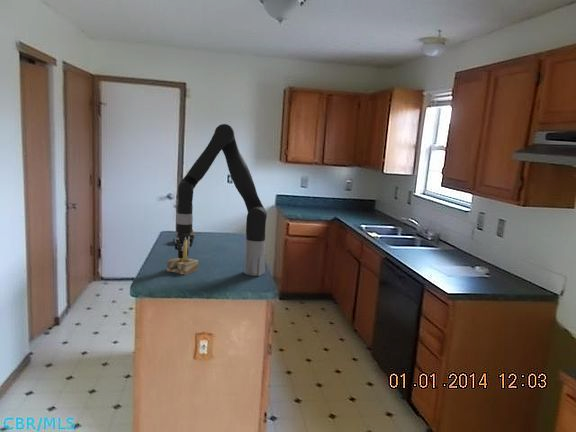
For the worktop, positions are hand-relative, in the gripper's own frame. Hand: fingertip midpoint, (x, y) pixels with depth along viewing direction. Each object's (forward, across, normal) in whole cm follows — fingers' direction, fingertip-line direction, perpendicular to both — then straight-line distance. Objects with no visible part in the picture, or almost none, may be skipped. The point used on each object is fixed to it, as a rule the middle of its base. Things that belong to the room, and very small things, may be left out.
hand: (183, 257), depth 217 cm
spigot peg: (+5, 0, 0) cm, 5 cm away
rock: (+7, +46, +33) cm, 57 cm away
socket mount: (+7, -2, 0) cm, 7 cm away
